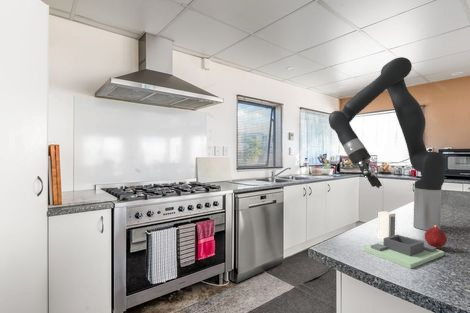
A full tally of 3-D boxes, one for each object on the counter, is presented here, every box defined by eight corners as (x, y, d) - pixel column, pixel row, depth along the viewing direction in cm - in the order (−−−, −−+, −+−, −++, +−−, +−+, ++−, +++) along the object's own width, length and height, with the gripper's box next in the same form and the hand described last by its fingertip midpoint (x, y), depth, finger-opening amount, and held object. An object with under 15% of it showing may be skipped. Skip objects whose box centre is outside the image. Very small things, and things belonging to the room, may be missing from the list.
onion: (450, 252, 80) (451, 228, 80) (430, 251, 81) (431, 227, 81) (439, 246, 86) (440, 223, 86) (420, 244, 87) (421, 222, 87)
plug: (383, 236, 95) (384, 211, 95) (396, 240, 91) (397, 213, 90) (377, 238, 93) (378, 212, 93) (390, 242, 89) (390, 215, 89)
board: (397, 240, 90) (397, 229, 90) (444, 255, 78) (444, 242, 78) (363, 250, 81) (363, 238, 81) (410, 268, 68) (410, 253, 68)
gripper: (360, 144, 96) (384, 181, 90) (368, 149, 107) (390, 182, 101) (343, 154, 100) (364, 190, 94) (352, 158, 111) (372, 190, 104)
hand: (377, 186), depth 97 cm, fingers open, 8 cm apart
